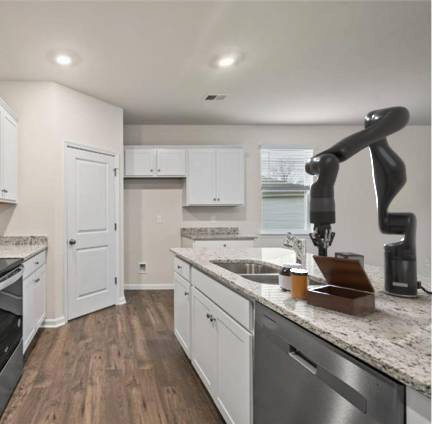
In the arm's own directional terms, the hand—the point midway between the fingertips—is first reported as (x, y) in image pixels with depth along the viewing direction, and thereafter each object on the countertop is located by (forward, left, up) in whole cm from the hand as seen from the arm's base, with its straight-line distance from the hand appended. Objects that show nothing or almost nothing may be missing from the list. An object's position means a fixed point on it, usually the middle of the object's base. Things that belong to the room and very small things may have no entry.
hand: (322, 258), depth 100 cm
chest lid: (-3, +5, -5) cm, 7 cm away
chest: (-1, +4, -17) cm, 17 cm away
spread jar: (-11, -16, -17) cm, 26 cm away
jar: (0, -8, -17) cm, 19 cm away
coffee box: (-29, -4, -17) cm, 34 cm away
